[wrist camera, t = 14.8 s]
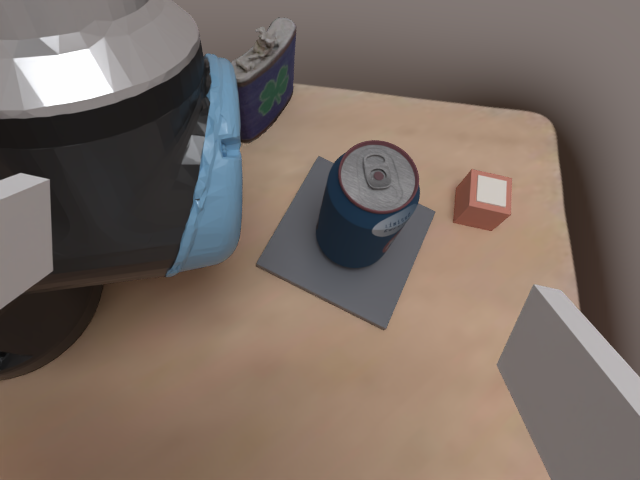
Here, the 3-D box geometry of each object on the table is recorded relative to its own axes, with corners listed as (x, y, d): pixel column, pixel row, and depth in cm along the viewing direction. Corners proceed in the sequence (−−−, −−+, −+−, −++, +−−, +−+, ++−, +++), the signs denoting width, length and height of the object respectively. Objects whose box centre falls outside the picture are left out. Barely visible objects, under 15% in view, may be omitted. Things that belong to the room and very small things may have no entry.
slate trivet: (256, 266, 41) (256, 263, 40) (317, 160, 46) (318, 156, 45) (383, 330, 40) (385, 328, 39) (432, 215, 45) (435, 211, 44)
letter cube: (452, 222, 45) (470, 204, 41) (455, 188, 46) (472, 168, 42) (491, 231, 45) (512, 213, 41) (492, 197, 46) (512, 177, 42)
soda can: (392, 268, 41) (437, 216, 30) (319, 275, 40) (337, 223, 29) (379, 202, 44) (416, 130, 32) (310, 207, 43) (323, 135, 32)
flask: (279, 78, 49) (281, -6, 39) (301, 92, 49) (308, 10, 39) (227, 135, 46) (215, 59, 36) (250, 150, 45) (245, 76, 35)
